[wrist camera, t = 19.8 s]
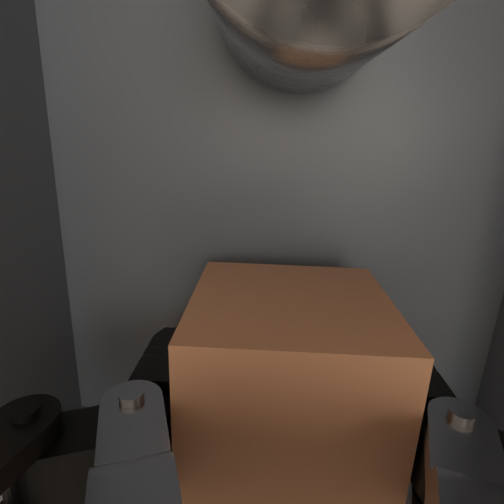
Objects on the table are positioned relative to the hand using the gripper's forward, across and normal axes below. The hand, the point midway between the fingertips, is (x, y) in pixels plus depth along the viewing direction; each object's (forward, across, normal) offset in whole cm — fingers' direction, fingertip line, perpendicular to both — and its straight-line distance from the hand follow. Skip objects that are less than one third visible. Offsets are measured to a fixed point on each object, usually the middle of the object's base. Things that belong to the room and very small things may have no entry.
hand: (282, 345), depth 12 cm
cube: (+1, 0, 0) cm, 1 cm away
